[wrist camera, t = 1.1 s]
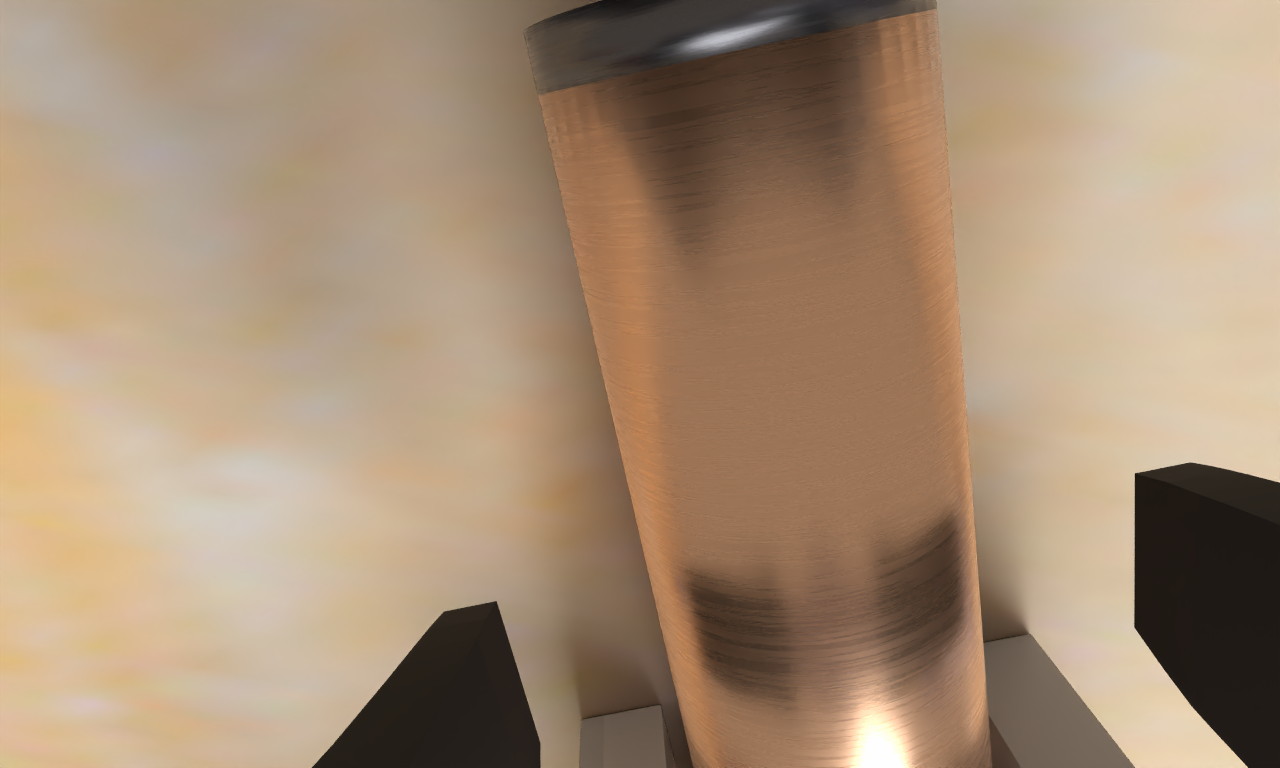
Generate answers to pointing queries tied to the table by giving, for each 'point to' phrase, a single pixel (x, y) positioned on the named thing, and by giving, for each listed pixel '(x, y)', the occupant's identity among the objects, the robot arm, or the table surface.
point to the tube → (782, 363)
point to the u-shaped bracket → (1017, 707)
